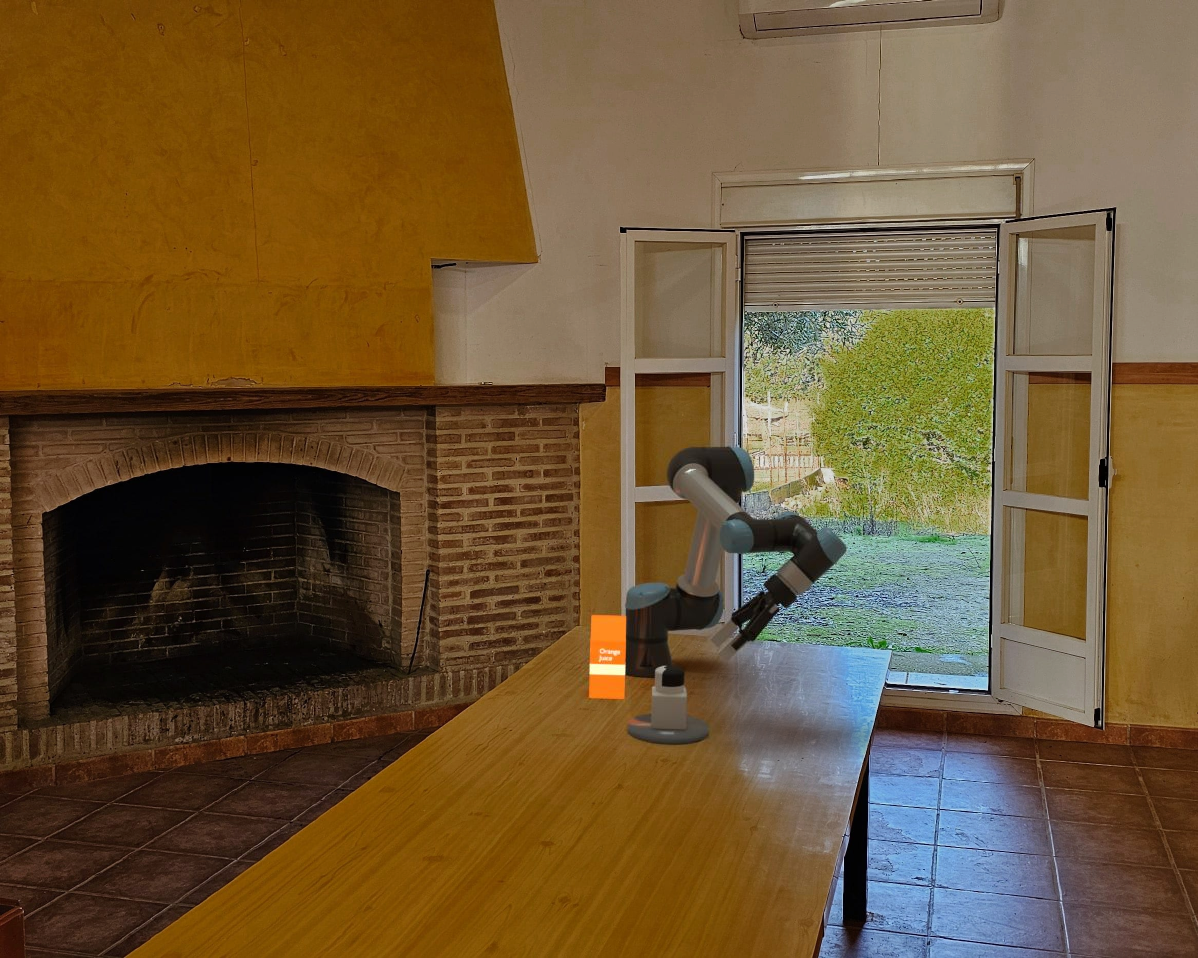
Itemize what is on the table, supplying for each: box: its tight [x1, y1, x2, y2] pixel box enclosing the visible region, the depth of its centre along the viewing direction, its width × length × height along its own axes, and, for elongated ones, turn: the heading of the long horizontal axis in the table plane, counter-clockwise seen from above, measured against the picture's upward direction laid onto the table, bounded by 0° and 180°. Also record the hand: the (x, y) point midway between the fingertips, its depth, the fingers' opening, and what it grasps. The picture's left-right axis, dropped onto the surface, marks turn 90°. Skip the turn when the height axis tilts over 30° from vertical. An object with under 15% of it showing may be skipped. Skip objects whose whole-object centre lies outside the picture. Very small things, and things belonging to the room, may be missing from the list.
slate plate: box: [627, 713, 709, 745], centre depth 250 cm, size 18×18×2 cm
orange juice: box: [588, 614, 626, 700], centre depth 279 cm, size 8×9×20 cm
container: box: [650, 665, 688, 730], centre depth 250 cm, size 8×8×13 cm
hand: (717, 650), depth 249 cm, fingers open, 13 cm apart
